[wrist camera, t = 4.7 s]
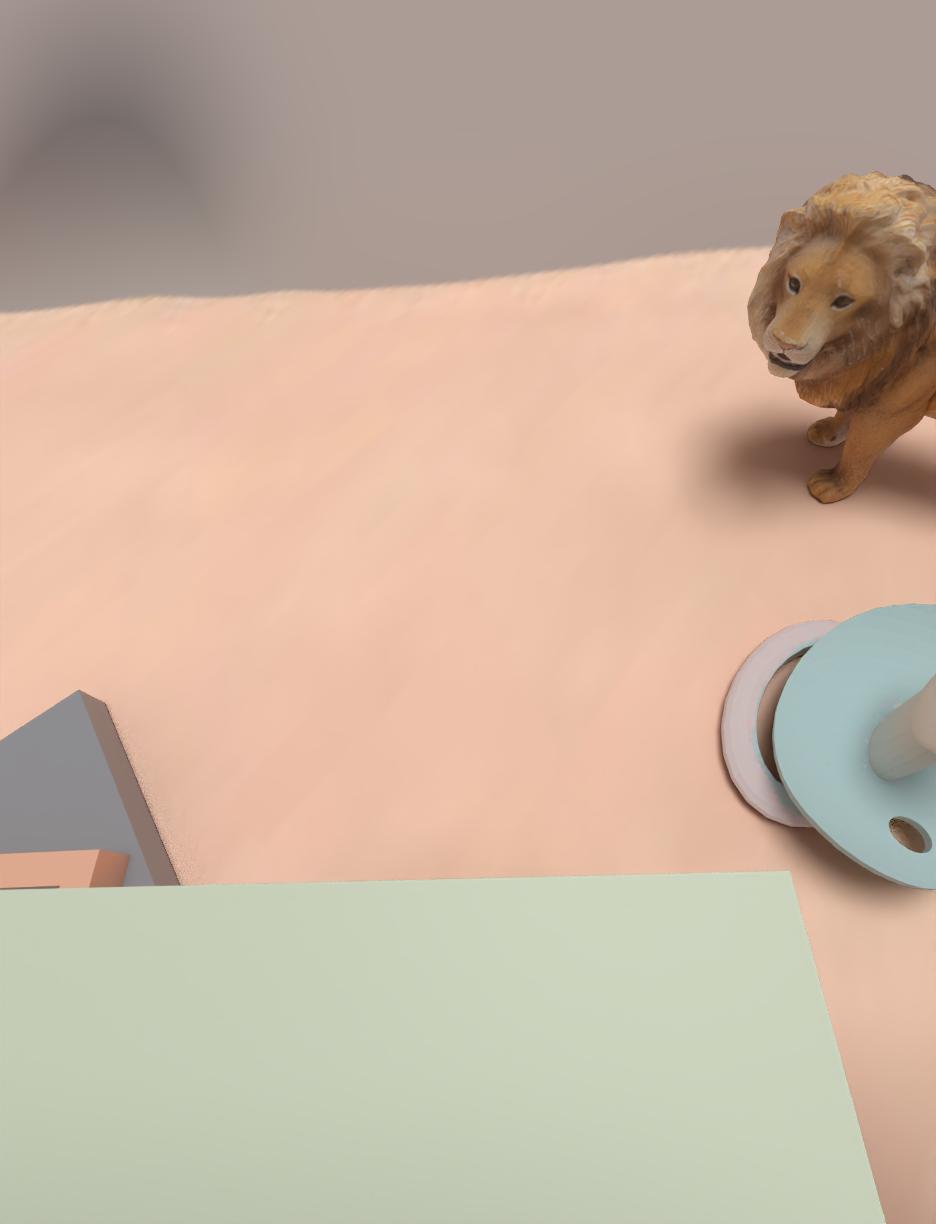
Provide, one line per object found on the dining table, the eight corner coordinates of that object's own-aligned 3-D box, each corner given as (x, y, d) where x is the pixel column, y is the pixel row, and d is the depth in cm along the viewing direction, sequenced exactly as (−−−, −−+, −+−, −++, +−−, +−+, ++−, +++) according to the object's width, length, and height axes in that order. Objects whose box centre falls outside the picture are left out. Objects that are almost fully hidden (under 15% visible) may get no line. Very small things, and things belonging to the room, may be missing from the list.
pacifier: (675, 790, 16) (920, 932, 13) (726, 708, 10) (1154, 920, 8) (775, 595, 18) (997, 684, 16) (859, 449, 13) (1214, 549, 10)
